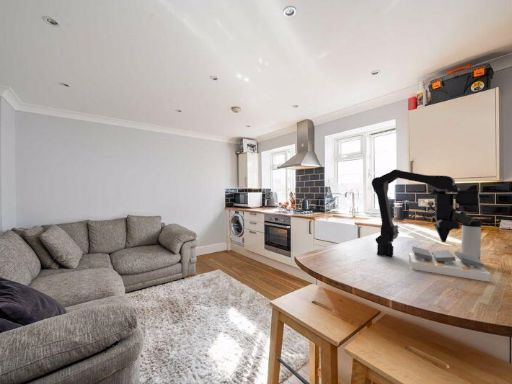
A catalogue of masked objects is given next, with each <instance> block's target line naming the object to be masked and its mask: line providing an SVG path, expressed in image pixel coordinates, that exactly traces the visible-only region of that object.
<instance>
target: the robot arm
mask: <svg viewBox="0 0 512 384" xmlns="http://www.w3.org/2000/svg"><path fill="white" fill-rule="evenodd" d="M398 179H402V180H406V181H412V182H417V183H423V184H426V185H428V186H431V187H434V189H433V191H431V192H430V193H429V194H430V195H435V207H434V210H435V215H433V216H431V217H430V222H432V223H433V226H434V228H435V230H436V233H437V234H438V237H439V238H440V240H441V242H442V243H446V242H447V238H448V237H449V233H450V231H452V230H461V224H460V222H461V223H462V222H463V223H465V224H468V225H470V223H471V221H472V219H474V217H471V216H469V215H467V214H466V212H465V211H458V212H457V210H456V208H454V205H455V204H456V205H458V206H459V207H465V208H466V207H469V208H470V207H471V208H480V205H481V204H480V203H481V197H480V191H479V189H466V190H465V189H460V187H458V186H457V185H456V181H455V179H454V178H453V177H452V176H449V175H433V174H431V175H430V174H429V175H427V174H423V173H422V174H421V173H416V172H410V171H403V170H401V169H392V170H391V171H390V172H388V173H385V174H383V175H380V176H377V177H374V178H373V179H372V180H371V186H372V189H373V191H374V192H375V194H376V197H377V202H378V207H379V212H380V214H379V215H380V219H381V226H380V235H379V236H377V237H376V238H375V242H376V244H377V245H376V247H377V250H376V251H377V252H376V255H377V256H382V257H389V258H393V256H394V245H393V242H394V240H396V239H397V238H398V237H399V234H400V232H399V227H398V226H399V225H398V224H396V225H395V224H394V223H393V218H392V213H391V208H390V203H389V196H388V193H389V184H391V183H392V182H394V181H395V180H398ZM436 188H437V189H436ZM438 189H439V190H438ZM448 191H449V192H451V193H448ZM454 196H455V197H454ZM454 200H455V202H454ZM454 203H455V204H454ZM457 221H458V222H457Z"/></svg>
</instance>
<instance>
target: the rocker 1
mask: <svg viewBox="0 0 512 384" xmlns="http://www.w3.org/2000/svg"><path fill="white" fill-rule="evenodd" d="M411 250H412V253H414V255H415V256H419V257H423V258H426V259H430V260H432V258H433V255H432V252H430V251H429V250H428V249H425V248H422V247H417V246H413V245H412V248H411Z"/></svg>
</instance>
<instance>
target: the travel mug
mask: <svg viewBox="0 0 512 384" xmlns="http://www.w3.org/2000/svg"><path fill="white" fill-rule="evenodd" d="M460 241H461V243H460V244H461V245H460V253H464V254H468V255H471V256H474V257H475V258H477V259H478V260H479V261H480V262H481V251H482V250H481V248H482V219H481V218H473V219H472V221H471V223H470V225H468V224H465V223H463V222H461V240H460Z"/></svg>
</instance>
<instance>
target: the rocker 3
mask: <svg viewBox="0 0 512 384" xmlns="http://www.w3.org/2000/svg"><path fill="white" fill-rule="evenodd" d="M453 255H454V256H455V257H456V258H457V259H460V260H461V261H462V262H465V263H469V264H472V265H475V266H479V267H482V268H484V264H485V263H483V262H482V261H481V260H480V261H479V260H478V259H477V258H475V257H474V256H471V255H468V254H464V253H461V251H457V250H455V251H454V254H453Z"/></svg>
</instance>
